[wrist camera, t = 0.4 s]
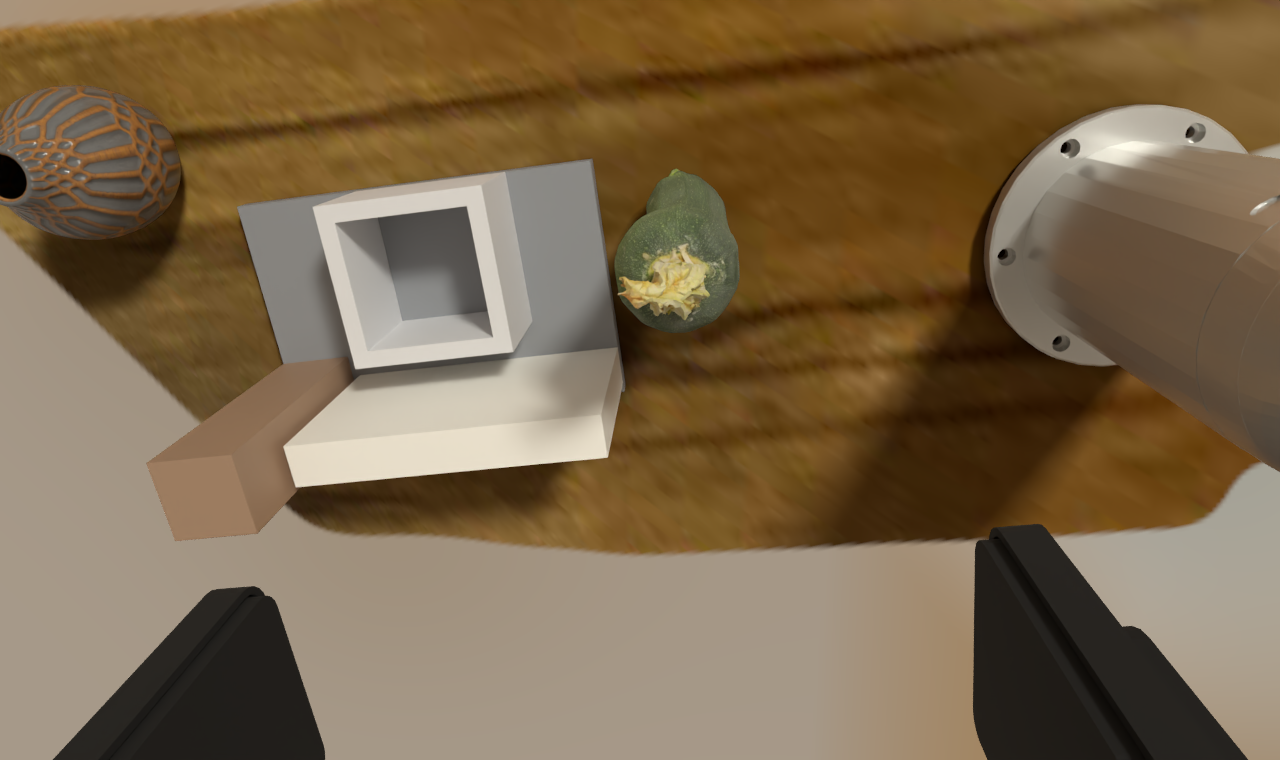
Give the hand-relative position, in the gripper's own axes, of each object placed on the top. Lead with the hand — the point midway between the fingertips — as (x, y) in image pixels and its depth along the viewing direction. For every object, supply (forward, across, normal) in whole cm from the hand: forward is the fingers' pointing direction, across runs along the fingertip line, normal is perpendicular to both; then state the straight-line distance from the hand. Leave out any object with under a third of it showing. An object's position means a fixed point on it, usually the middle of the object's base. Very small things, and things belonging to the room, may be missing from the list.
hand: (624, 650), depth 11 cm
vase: (+33, +27, -7) cm, 43 cm away
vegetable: (+33, 0, -1) cm, 33 cm away
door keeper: (+33, +13, +2) cm, 35 cm away
